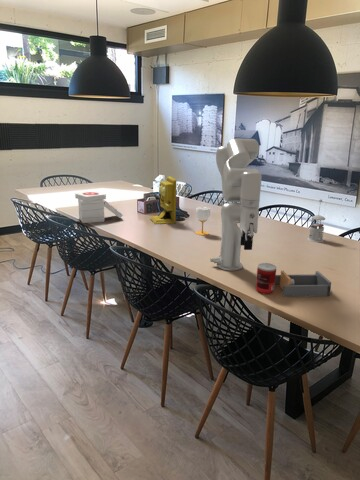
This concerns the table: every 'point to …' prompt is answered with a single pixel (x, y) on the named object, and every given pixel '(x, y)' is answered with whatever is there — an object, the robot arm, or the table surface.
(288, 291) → the frame
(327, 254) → the table surface
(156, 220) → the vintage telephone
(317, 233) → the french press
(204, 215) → the cup
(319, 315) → the table surface
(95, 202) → the pizza boxes
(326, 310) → the table surface
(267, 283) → the canned food
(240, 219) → the robot arm
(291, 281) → the pusher
